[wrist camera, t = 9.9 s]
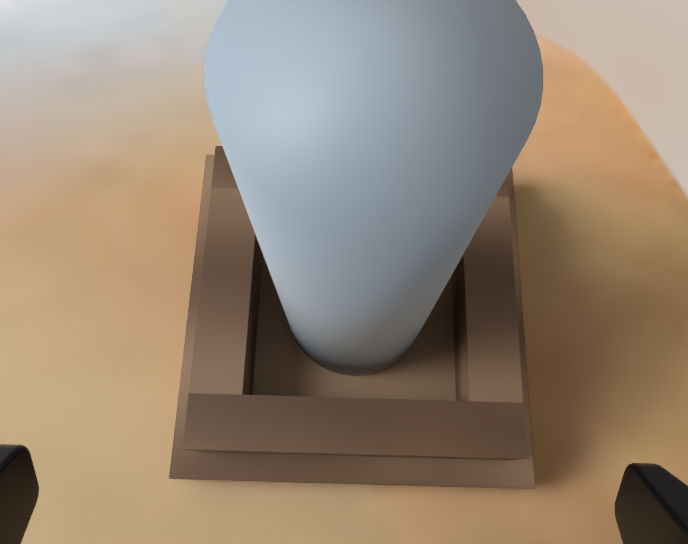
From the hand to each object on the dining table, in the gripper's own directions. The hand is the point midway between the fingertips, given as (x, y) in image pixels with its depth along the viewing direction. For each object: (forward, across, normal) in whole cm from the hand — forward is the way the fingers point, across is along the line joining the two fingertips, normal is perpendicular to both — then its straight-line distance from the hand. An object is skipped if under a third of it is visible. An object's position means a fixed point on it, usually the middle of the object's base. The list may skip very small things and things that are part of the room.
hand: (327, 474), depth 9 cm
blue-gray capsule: (+10, -1, +3) cm, 11 cm away
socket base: (+12, -1, +4) cm, 12 cm away
